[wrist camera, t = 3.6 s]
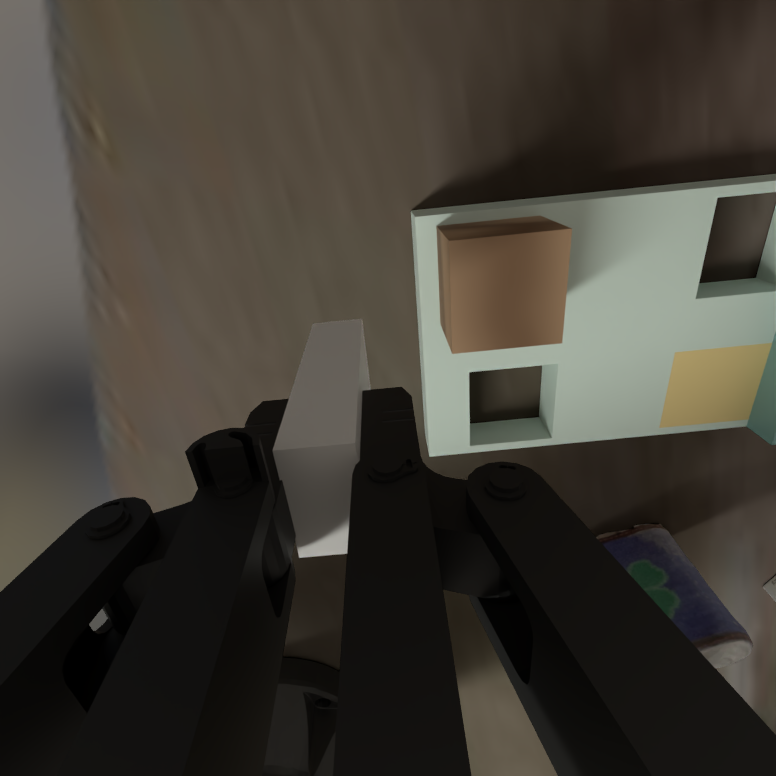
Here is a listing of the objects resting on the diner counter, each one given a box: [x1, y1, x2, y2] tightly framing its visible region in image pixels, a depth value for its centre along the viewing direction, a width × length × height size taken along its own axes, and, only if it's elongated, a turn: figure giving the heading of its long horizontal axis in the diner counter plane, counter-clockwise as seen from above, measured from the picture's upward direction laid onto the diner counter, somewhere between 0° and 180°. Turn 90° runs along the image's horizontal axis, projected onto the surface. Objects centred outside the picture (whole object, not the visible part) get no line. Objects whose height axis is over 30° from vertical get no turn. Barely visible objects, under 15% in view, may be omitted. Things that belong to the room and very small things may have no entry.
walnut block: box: [436, 216, 572, 354], centre depth 22 cm, size 5×5×4 cm
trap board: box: [411, 174, 776, 457], centre depth 26 cm, size 20×14×4 cm
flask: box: [596, 524, 753, 669], centre depth 31 cm, size 10×3×12 cm, turn 107°
